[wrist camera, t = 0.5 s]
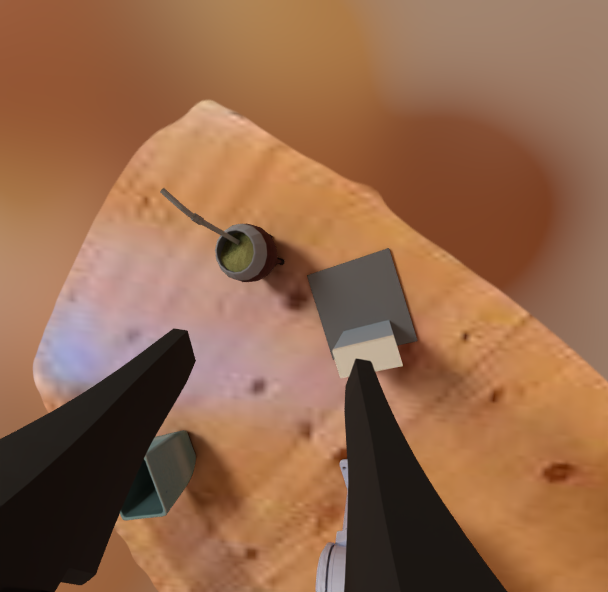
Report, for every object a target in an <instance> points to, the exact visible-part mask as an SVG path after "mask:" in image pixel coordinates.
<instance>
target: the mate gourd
mask: <svg viewBox="0 0 608 592" xmlns="http://www.w3.org/2000/svg"><path fill="white" fill-rule="evenodd" d="M160 193H162V194H163V195H164V196H165V197H166V198H167V199H168V200H169V201H171V202H172V203H173V204H174V205H175V206H176V207H177V208H178V209H180V210H181V211H182V212H183V213H185V214H186V215H187V216H188V217H190V218H191V220H192V221H194V222H196V223H197V224H199V225H203V226H205V227H207V228H209V229H210V230H212V231H214V232H216V233H218V234H220V235H221V236H220V237H219V239H218V240H217V245H216V249H215V252H216V260H217V262H218V264H219V266H220V268H221V270H222V271H223V272H224V273H225V274H226V275H227V276H228V277H230V278H233V279H236V280H239V281H242V282H253V281H258V280H260V279H262V278H263V277H265V276H267V275H268V274H269V273H270V272H271V271H272V269H273V268H274V267H275V265H276V264H280V265H283V264H284V260H283V259H281V258H278V257H277V250H276V246H275V244H274V242H273V240H272V236H271V235H270V234H268V233H267V232H265V231H264V230H263V229H262V228H260V227H257V226H254V225H250V224H238V225H232V226H231V227H229V228H228V229H226V230H225V231H222V230H221V229H219V228H217V227H215V226H214V225H212V224H210V223H208V222H207V221H205V220H204V218H202V217H201V216H199V215H197V214H196V213H192V212H191V211H190V210H188V209H187V208H186V207H185V206H183V205H182V204H181V203H180V202H179V201H178V200H177V199H176V198H174V197H173V196H172V195H171V194H170V193H169V192H168V191H167V190H166V189H164V188H163V189H162V190H161V191H160Z"/></svg>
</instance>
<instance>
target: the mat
mask: <svg viewBox="0 0 608 592" xmlns="http://www.w3.org/2000/svg"><path fill="white" fill-rule="evenodd" d="M307 277H308V280H309V284H310V287H311V290H312V293H313V297H314V300H315V303H316V306H317V310H318V313H319V316H320V319H321V322H322V326H323V329H324V332H325V335H326V339H327V342H328V345H329V348H330V352H331V355H332V358H333V360H334V356H333V353H332V351H333V349H334V347H335V345H336V343H337V342H338V340H339V338H340V336H341V335H342V333H343V331H347V330H351V329H355V328H359V327H363V326H367V325H370V324H374V323H378V322H382V321H386V320H389V322H390V325H391V328H392V331H393V335H394V338H395V341H396V344H397V345H402V344H406V343H411V342H415V341H417V337H416V334H415V331H414V328H413V324H412V321H411V318H410V315H409V312H408V308H407V305H406V302H405V299H404V296H403V292H402V289H401V286H400V283H399V279H398V276H397V273H396V270H395V267H394V263H393V260H392V257H391V254H390V250H389V248H388V249H385V250H382V251H379V252H376V253H373V254H370V255H367V256H364V257H361V258H358V259H355V260H352V261H349V262H346V263H343V264H340V265H337V266H334V267H331V268H328V269H325V270H322V271H319V272H316V273H313V274H310V275H307Z"/></svg>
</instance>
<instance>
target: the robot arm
mask: <svg viewBox="0 0 608 592" xmlns="http://www.w3.org/2000/svg"><path fill="white" fill-rule="evenodd" d="M195 361H196V360H195V356H194V353H193V349H192V345H191V341H190V338H189V334H188V331H186V330H180V329H172V330H171V331H170V332H168V333H167V334H166V335H164V336H163V337H162V338H160V339H159V340H158V341H156V342H155V343H154V344H152V345H151V346H150V347H148V348H147V349H146V350H144V351H143V352H142V353H140V354H139V355H138V356H136V357H135V358H133V359H132V360H131V361H129V362H128V363H127V364H125V365H124V366H122V367H121V368H120V369H118V370H117V371H115V372H114V373H112V374H111V375H109V376H108V377H107V378H105V379H104V380H102V381H101V382H99V383H98V384H96V385H95V386H93V387H92V388H90V389H89V390H87V391H85V392H84V393H82V394H81V395H79V396H77V397H76V398H74V399H72V400H71V401H69V402H67V403H66V404H64V405H62V406H61V407H59V408H57V409H56V410H54V411H52V412H50V413H48V414H47V415H45V416H43V417H41V418H39V419H37V420H36V421H34V422H32V423H30V424H28V425H26V426H24V427H23V428H21V429H19V430H17V431H16V432H13V433H11V434H10V435H7V436H5V437H3V438H2V439H0V592H55V590H56V589H57V587H58V585H59V584H60V582H64V583H69V584H76V585H83V584H84V583H86V582H87V581H89V580H90V579H91V578H92V577H93V576H94V575H96V573H97V570H98V567H99V564H100V562H101V559H102V557H103V554H104V551H105V549H106V546H107V544H108V541H109V538H110V536H111V533H112V530H113V528H114V526H115V523H116V521H117V519H118V516H119V514H120V511H121V509H122V507H123V504H124V502H125V499H126V497H127V495H128V493H129V490H130V488H131V486H132V484H133V481H134V479H135V477H136V475H137V472H138V470H139V468H140V466H141V464H142V462H143V460H144V458H145V455H146V453H147V451H148V449H149V447H150V445H151V443H152V441H153V439H154V438H155V436H156V434H157V432H158V430H159V429H160V427H161V425H162V424H163V422H164V420H165V419H166V417H167V415H168V413H169V412H170V410H171V408H172V407H173V405H174V403H175V402H176V400H177V398H178V396H179V395H180V393H181V391H182V389H183V388H184V386H185V384H186V382H187V380H188V378H189V376H190V373H191V371H192V369H193V366H194V364H195ZM345 428H346V445H347V459H345V460H341V461H340V467H341V470H342V474H343V477H344V480H345V483H346V487H347V490H348V491H347V499H346V507H345V515H344V522H343V530H342V531H337V536H336V542H335V544H334V543H331V542H329V543H327V544H326V546H325V548H324V549H323V551H322V553H321V555H320V558H319V563H318V569H317V577H316V592H507V591H506V589H505V588H504V587H503V585H502V584H501V583H500V581H499V580H498V579H497V577H496V576H495V575H494V573H493V572H492V571H491V569H490V568H489V567H488V565H487V564H486V563H485V561H484V560H483V559H482V557H481V556H480V555H479V553H478V552H477V550H476V549H475V548H474V546H473V545H472V543H471V542H470V541H469V539H468V538H467V537H466V535H465V534H464V532H463V531H462V529H461V528H460V526H459V525H458V523H457V522H456V520H455V519H454V517H453V516H452V515H451V513H450V512H449V510H448V509H447V507H446V506H445V504H444V503H443V501H442V500H441V498H440V497H439V495H438V494H437V492H436V490H435V489H434V487H433V486H432V484H431V482H430V481H429V479H428V478H427V476H426V474H425V473H424V471H423V469H422V468H421V466H420V464H419V463H418V461H417V459H416V457H415V456H414V454H413V452H412V450H411V448H410V447H409V445H408V443H407V441H406V439H405V437H404V435H403V433H402V431H401V429H400V427H399V425H398V423H397V421H396V419H395V417H394V415H393V413H392V411H391V409H390V406H389V404H388V402H387V400H386V398H385V395H384V393H383V390H382V388H381V386H380V383H379V381H378V378H377V375H376V373H375V370H374V367H373V364H372V362H371V361H369V360H363V359H357V358H356V359H355V361H354V364H353V367H352V370H351V373H350V375H349V378H348V381H347V384H346V390H345ZM344 467H346V468H344Z"/></svg>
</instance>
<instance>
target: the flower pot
mask: <svg viewBox="0 0 608 592" xmlns="http://www.w3.org/2000/svg"><path fill="white" fill-rule="evenodd" d="M195 462H196V455H195V452H194V450H193V447H192V444H191V442H190V439H189V436H188V433H187V431H178V432H174V433H170V434H166V435H162V436H157V437H155V438H154V439H153V441H152V443H151V445H150V447H149V449H148V451H147V453H146V455H145V458H144V460H143V462H142V464H141V466H140V468H139V470H138V472H137V475H136V477H135V479H134V481H133V484H132V486H131V488H130V490H129V493H128V495H127V497H126V499H125V502H124V504H123V507H122V509H121V511H120V515H121V517H122V519H123V520H134V519H142V518H153V517H162V516H165V515H167V513H168V512H169V510H170V509H171V507H172V506H173V505H174V503H175V502H176V500H177V499H178V498H179V496H180V495H181V493H182V492H183V490H184V489H185V487H186V486H187V484H188V483H189V481H190V479H191V477H192V474H193V471H194V467H195Z"/></svg>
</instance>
